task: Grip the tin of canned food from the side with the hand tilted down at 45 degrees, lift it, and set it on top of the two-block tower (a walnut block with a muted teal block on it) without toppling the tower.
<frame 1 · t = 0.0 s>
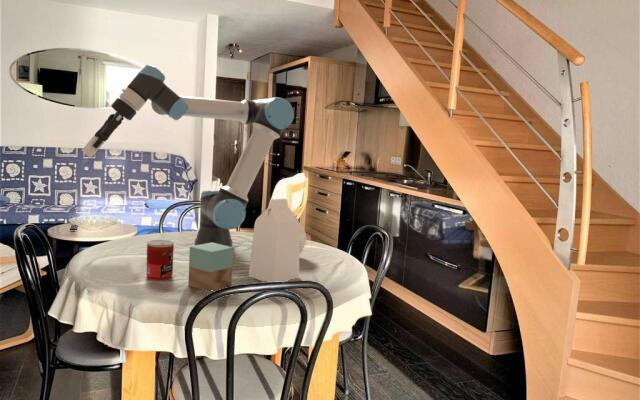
hand: (85, 154, 157), 36 cm above the table, fingers open, 13 cm apart
canned food: (159, 277, 151), on the table
cauliflower: (281, 259, 184), on the table
milk: (273, 277, 159), on the table
walnut block: (210, 285, 146), on the table, touching teal block
teal block: (210, 266, 145), point 6 cm above the table, touching walnut block
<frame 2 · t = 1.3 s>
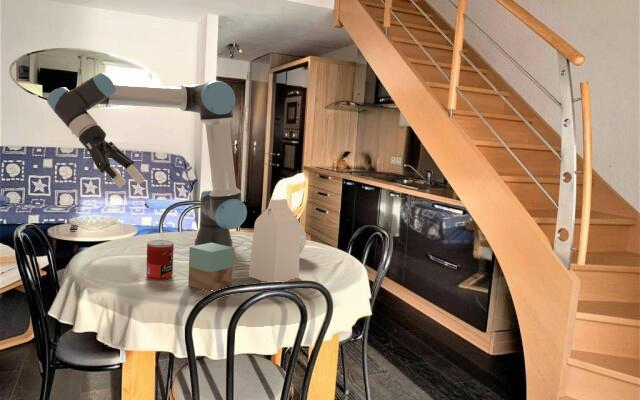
hand: (133, 183, 153), 28 cm above the table, fingers open, 13 cm apart
nothing on the table moved.
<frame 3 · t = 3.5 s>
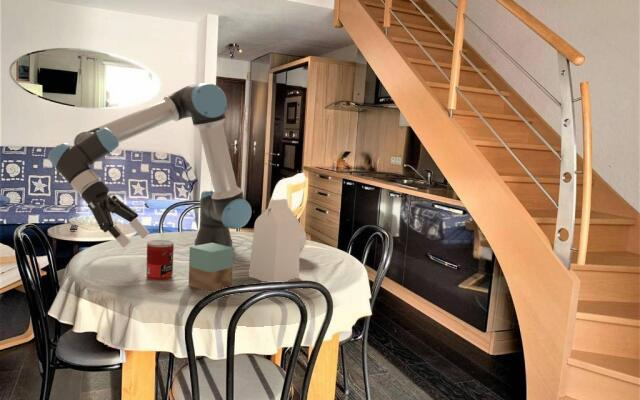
hand: (137, 240, 149), 11 cm above the table, fingers open, 13 cm apart
nothing on the table moved.
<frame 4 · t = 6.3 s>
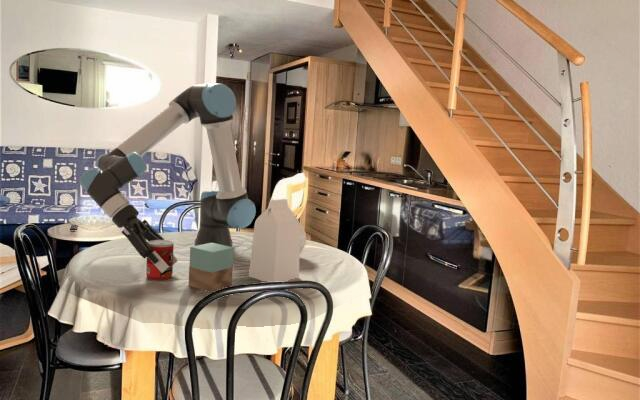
hand: (170, 266, 150), 4 cm above the table, fingers closed on canned food, 8 cm apart
canned food: (159, 277, 151), on the table, touching gripper
everything else where it was.
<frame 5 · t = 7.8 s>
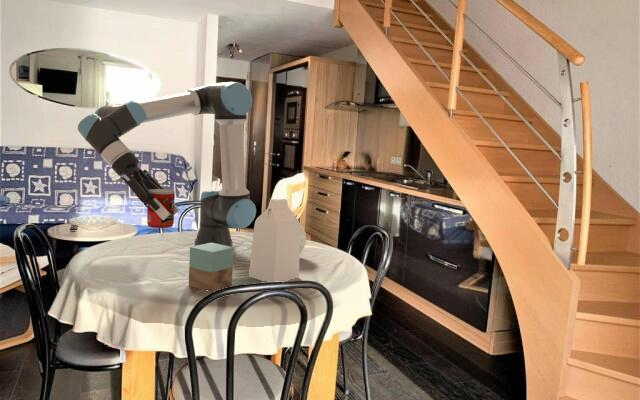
hand: (171, 214, 148), 20 cm above the table, fingers closed on canned food, 8 cm apart
canned food: (160, 226, 149), point 16 cm above the table, touching gripper
everything else where it was.
when the fingers open (17 cm above the table, at t = 10.8 s): canned food drops 1 cm, resting on teal block.
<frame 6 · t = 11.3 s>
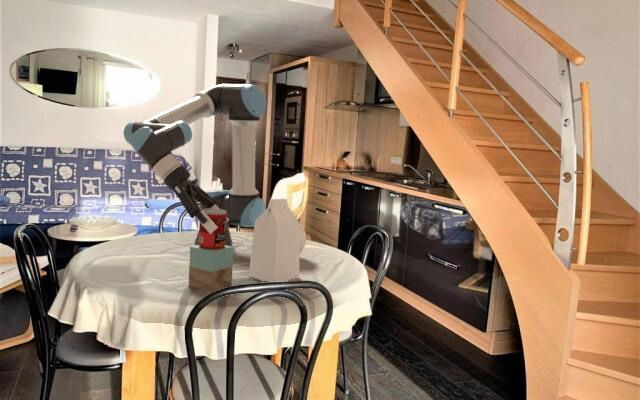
hand: (220, 226, 144), 18 cm above the table, fingers open, 13 cm apart
canned food: (211, 247, 145), point 12 cm above the table, touching teal block
teal block: (211, 266, 145), point 6 cm above the table, touching canned food, walnut block
everything else where it was.
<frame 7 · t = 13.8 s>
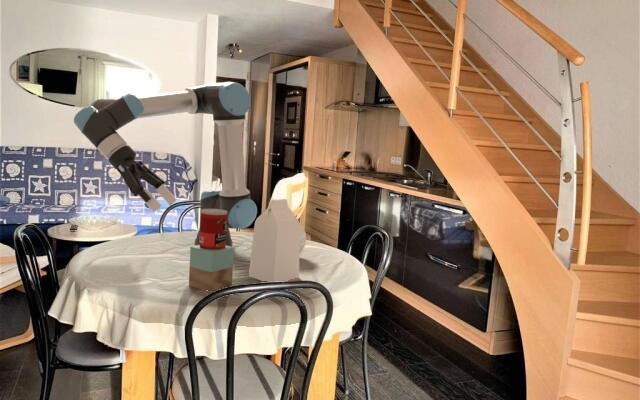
hand: (166, 205, 146), 23 cm above the table, fingers open, 13 cm apart
nothing on the table moved.
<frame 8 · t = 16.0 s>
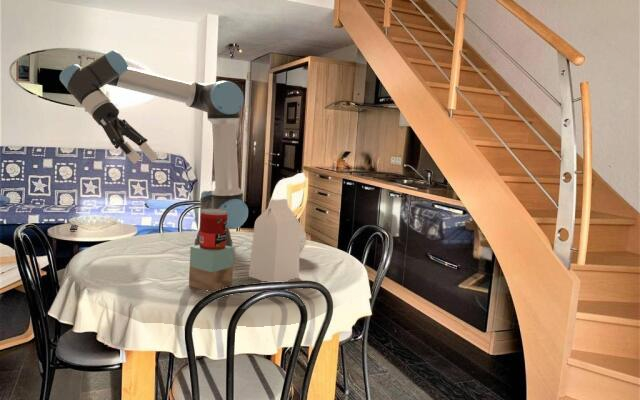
hand: (147, 160, 152), 36 cm above the table, fingers open, 13 cm apart
nothing on the table moved.
at the end: canned food inside the target area on the teal block (0.0 cm from its centre), point 5.8 cm above the teal block's base; teal block 0.1 cm from the walnut block (horizontally); canned food tilted 0° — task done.
